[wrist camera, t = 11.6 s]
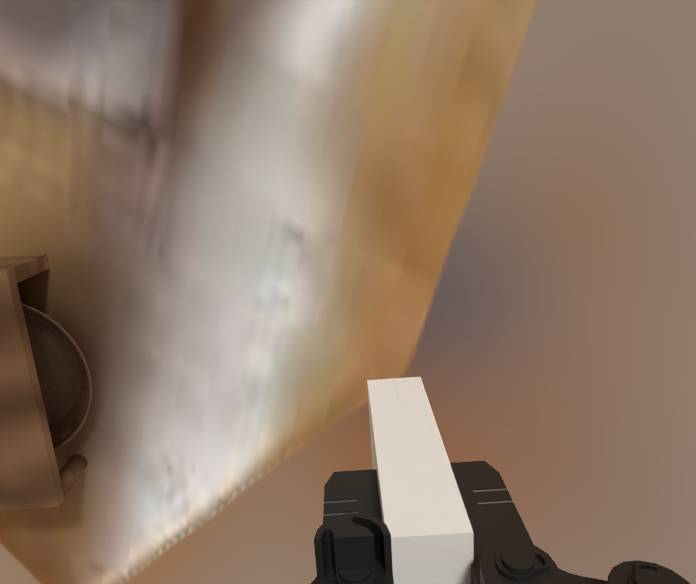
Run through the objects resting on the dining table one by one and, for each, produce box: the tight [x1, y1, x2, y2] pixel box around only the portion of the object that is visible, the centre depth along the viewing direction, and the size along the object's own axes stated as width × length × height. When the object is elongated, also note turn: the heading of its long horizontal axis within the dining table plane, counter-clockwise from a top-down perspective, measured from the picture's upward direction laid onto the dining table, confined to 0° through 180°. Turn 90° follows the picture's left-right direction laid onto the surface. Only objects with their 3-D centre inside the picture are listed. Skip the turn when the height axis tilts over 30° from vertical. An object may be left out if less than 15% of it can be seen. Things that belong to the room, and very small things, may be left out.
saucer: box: [21, 303, 92, 451], centre depth 49 cm, size 15×15×3 cm
